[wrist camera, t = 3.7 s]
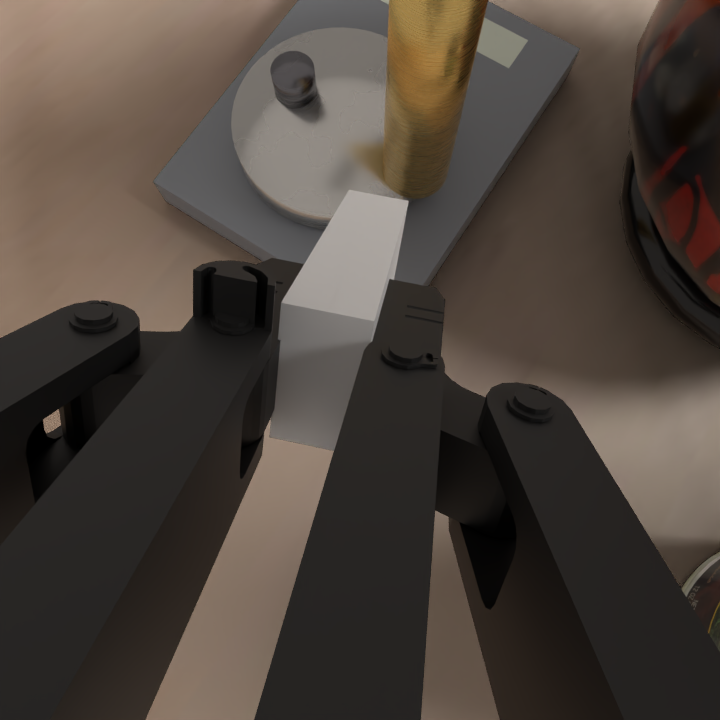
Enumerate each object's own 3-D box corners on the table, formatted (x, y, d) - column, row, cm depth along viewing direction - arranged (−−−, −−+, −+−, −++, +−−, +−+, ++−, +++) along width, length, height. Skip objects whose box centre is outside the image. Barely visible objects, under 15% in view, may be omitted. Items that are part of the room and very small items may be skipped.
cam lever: (312, 19, 32) (268, -363, 18) (495, 119, 31) (602, -213, 17) (197, 164, 31) (49, -137, 16) (386, 278, 29) (404, 55, 15)
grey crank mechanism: (354, -38, 36) (352, -100, 32) (568, 75, 34) (592, 22, 30) (165, 201, 33) (140, 161, 29) (391, 341, 31) (394, 317, 27)
